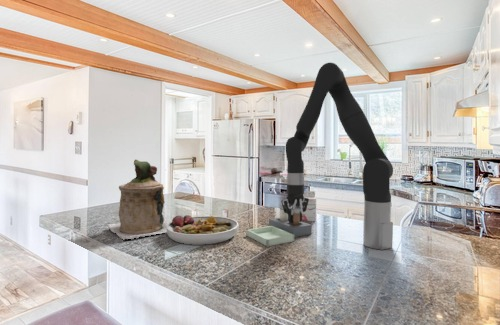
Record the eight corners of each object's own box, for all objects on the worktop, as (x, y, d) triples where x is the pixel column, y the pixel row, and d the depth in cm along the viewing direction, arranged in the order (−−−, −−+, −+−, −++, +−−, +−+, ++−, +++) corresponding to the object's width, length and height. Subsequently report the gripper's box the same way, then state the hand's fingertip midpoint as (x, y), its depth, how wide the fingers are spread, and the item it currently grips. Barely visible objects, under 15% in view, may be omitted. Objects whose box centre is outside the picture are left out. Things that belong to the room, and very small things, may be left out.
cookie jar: (122, 242, 117) (121, 161, 115) (106, 229, 136) (104, 159, 134) (180, 231, 133) (179, 159, 131) (158, 220, 151) (157, 158, 150)
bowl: (246, 229, 137) (246, 212, 136) (223, 251, 108) (223, 229, 108) (187, 224, 145) (187, 208, 144) (151, 243, 116) (151, 224, 116)
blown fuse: (301, 233, 129) (301, 208, 129) (294, 234, 127) (294, 209, 127) (295, 231, 133) (295, 206, 132) (288, 232, 131) (288, 207, 130)
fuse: (290, 228, 136) (290, 205, 135) (283, 230, 134) (283, 206, 133) (284, 226, 139) (285, 203, 139) (277, 228, 137) (278, 204, 137)
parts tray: (294, 241, 118) (294, 234, 118) (267, 246, 112) (267, 240, 112) (271, 231, 132) (271, 225, 132) (246, 235, 126) (246, 229, 125)
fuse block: (311, 233, 128) (311, 224, 128) (293, 237, 123) (293, 227, 123) (286, 224, 144) (286, 216, 143) (268, 227, 139) (268, 218, 138)
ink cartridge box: (299, 220, 151) (299, 192, 150) (298, 218, 156) (298, 190, 155) (316, 221, 150) (316, 192, 149) (315, 219, 155) (315, 191, 154)
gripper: (287, 185, 122) (287, 226, 123) (313, 183, 129) (313, 222, 130) (277, 183, 128) (276, 222, 129) (302, 181, 136) (302, 218, 136)
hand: (295, 222), depth 130 cm, fingers closed on blown fuse, 4 cm apart
